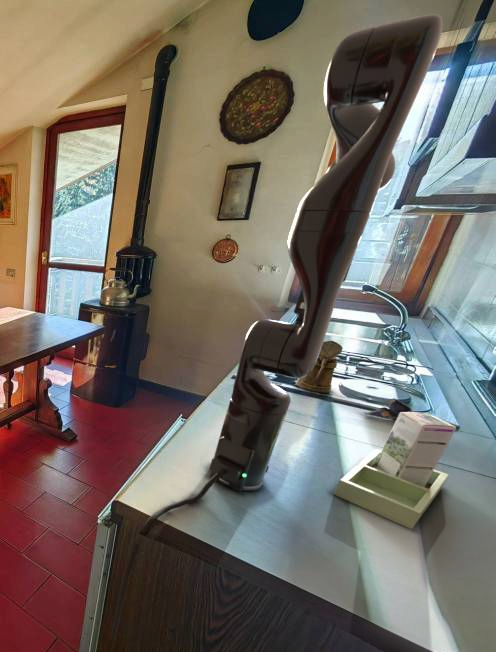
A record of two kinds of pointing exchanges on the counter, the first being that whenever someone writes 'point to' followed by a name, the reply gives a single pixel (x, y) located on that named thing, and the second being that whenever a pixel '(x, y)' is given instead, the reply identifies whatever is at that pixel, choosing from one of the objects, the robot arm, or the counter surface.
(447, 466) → the counter surface
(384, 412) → the snack package
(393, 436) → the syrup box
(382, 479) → the holder
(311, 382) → the tan boot
